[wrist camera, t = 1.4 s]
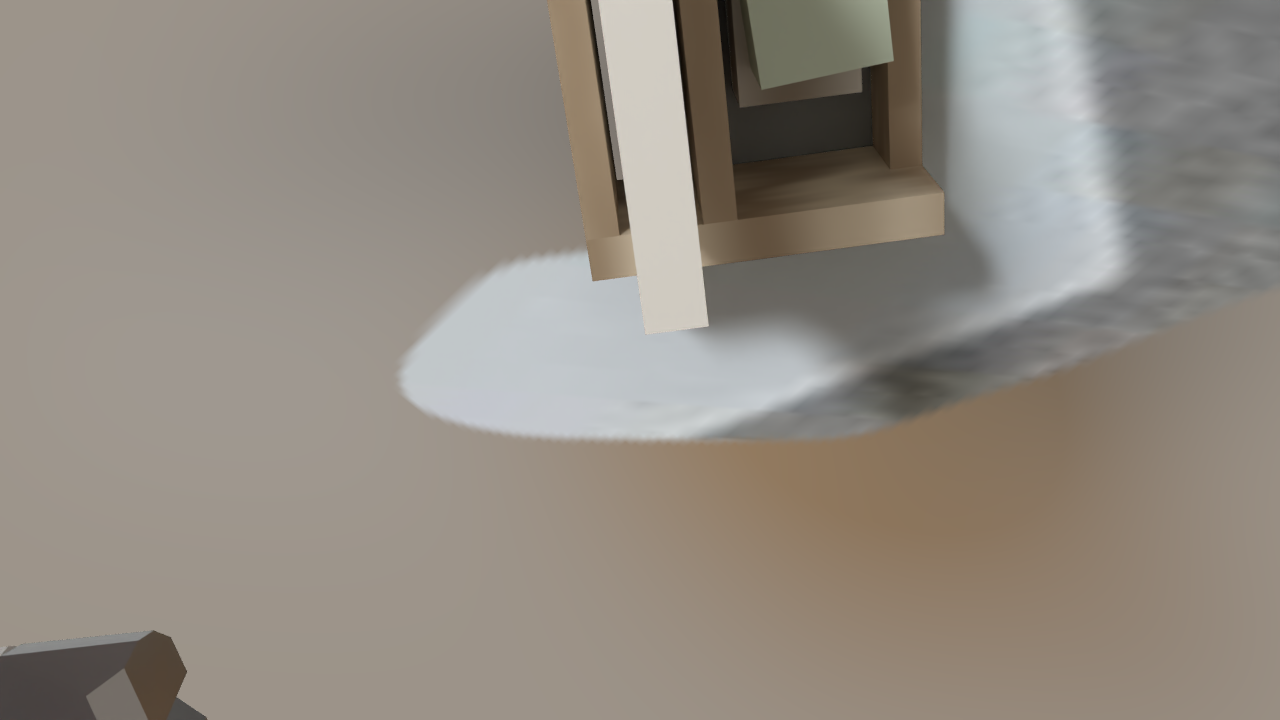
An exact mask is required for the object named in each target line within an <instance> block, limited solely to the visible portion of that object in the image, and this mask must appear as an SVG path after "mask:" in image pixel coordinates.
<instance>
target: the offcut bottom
mask: <svg viewBox="0 0 1280 720" xmlns="http://www.w3.org/2000/svg"><path fill="white" fill-rule="evenodd" d="M725 5H726V18H727V30H728V42H729V54H730V66H731V78H732V90H733V92H734V95H735V97H736V99H737V102H738V104H739V107H740V108H742V107H750V106H758V105H765V104H773V103H781V102H789V101H796V100H804V99H812V98H820V97H828V96H835V95H843V94H851V93H859V92H862V68H859V69H855V70H850V71H846V72H841V73H837V74H832V75H828V76H823V77H818V78H814V79H809V80H805V81H800V82H796V83H791V84H786V85H782V86H777V87H773V88H768V89H764V90H761V88H760V86H759V84H758V82H757V80H756V78H755V76H754V74H753V72H752V70H751V67H750V61H749V55H748V49H747V43H746V37H745V31H744V25H743V18H742V12H741V6H740V0H725Z"/></svg>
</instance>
